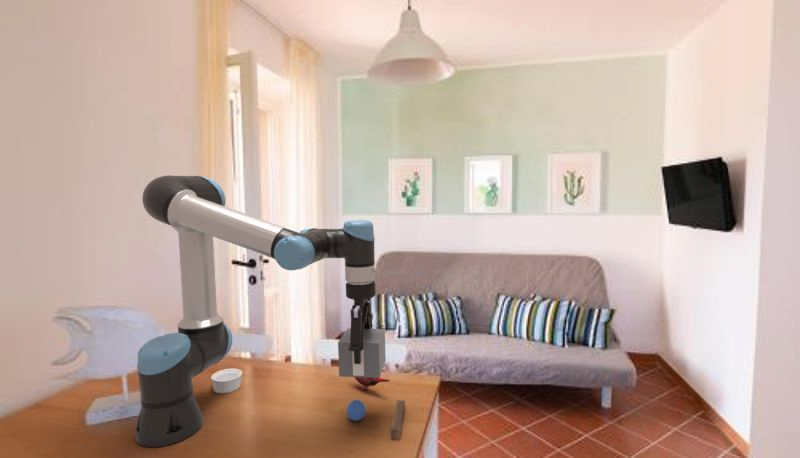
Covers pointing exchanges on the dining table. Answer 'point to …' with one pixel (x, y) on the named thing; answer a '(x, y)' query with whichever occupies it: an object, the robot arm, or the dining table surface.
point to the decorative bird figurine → (369, 381)
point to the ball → (356, 410)
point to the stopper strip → (398, 420)
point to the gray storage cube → (372, 353)
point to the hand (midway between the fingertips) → (363, 365)
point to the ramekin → (226, 380)
